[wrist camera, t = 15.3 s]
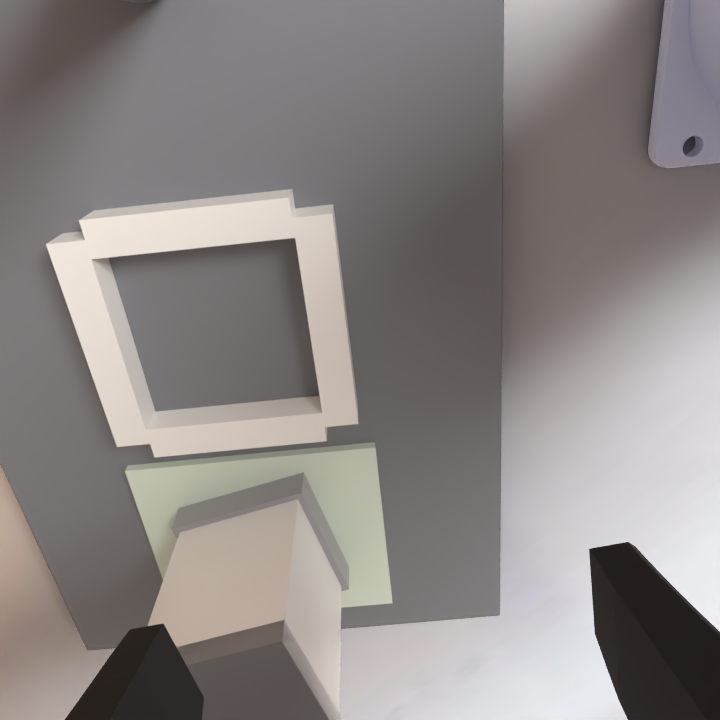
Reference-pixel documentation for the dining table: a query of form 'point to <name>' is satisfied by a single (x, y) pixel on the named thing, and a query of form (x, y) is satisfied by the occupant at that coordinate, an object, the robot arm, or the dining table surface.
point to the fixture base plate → (254, 287)
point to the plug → (258, 603)
